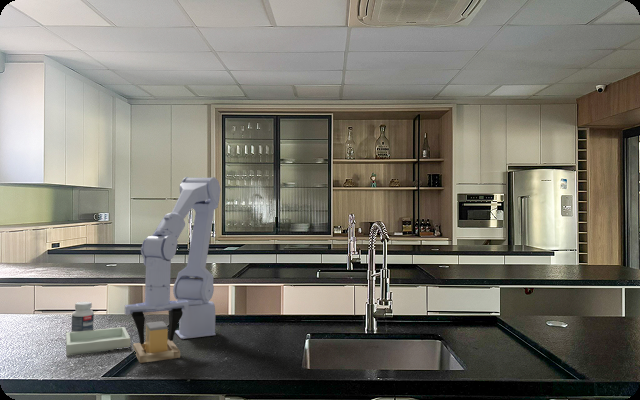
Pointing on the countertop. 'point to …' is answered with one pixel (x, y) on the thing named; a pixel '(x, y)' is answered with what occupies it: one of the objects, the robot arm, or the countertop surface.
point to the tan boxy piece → (156, 337)
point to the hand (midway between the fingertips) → (156, 341)
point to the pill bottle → (82, 317)
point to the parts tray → (96, 340)
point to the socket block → (143, 357)
